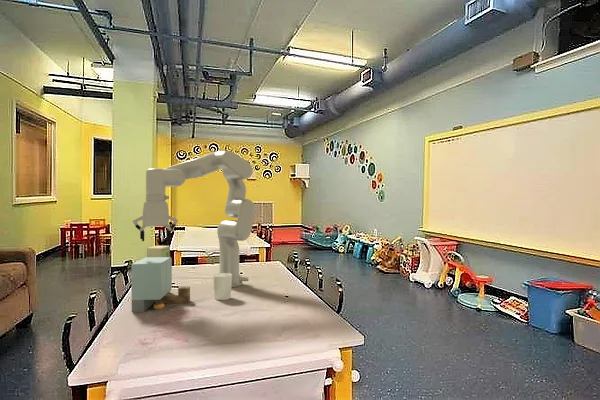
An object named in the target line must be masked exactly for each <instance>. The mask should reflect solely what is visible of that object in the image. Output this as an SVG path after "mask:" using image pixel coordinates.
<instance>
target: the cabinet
mask: <svg viewBox="0 0 600 400" xmlns="http://www.w3.org/2000/svg"><path fill="white" fill-rule="evenodd" d="M172 261H173V259H172V257H171V256H170V257H147V256H146V257H143V258H142V259H140V260H136V261H135V262H133V263H131V265H130V266H131V277H130V278H131V312H132V313H137V312H138V313H143V312H145V311H147V309H150V307H151V306H152V305H154V304H155V303H156V300H160V299H161V298H162V297H163V296H166V295H167V294H169V293H170V292H169V291H171V290H172V289H173V281H172V280H173V276H172V275H173V273H172V272H173V268H172V266H173V265H172V264H173V263H172Z"/></svg>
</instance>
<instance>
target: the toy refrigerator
mask: <svg viewBox="0 0 600 400" xmlns="http://www.w3.org/2000/svg"><path fill="white" fill-rule="evenodd" d="M170 250H171V246H170V245H154V246H149V247H146V257H171V253H170ZM170 291H171V290H170ZM170 291H169V292H168V293H170Z"/></svg>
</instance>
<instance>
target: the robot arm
mask: <svg viewBox="0 0 600 400" xmlns="http://www.w3.org/2000/svg"><path fill="white" fill-rule="evenodd" d="M219 170H221V171H222V174H223V177H224V179H225V180H226V182H227V184H228V193H227V194H228V195H227V198H226V203H225V206H224V207H225V208H224V214H225V216H227V217H228V218H232V219H226V220H222V221H221V222H220V223H219V224H218V225H217V229H216V230H217V231H216V232H217V238H218V243H219V273H230V274H232V286H231V288H234V287H235V288H236V287H240V286H242V285H243V282H249V276H248V277H247V276H241V274H240V246H239V243H238V241H239V242H240V241H241V242H244V241H246V240H248V238H250V235H251V233H252V229H253V226H254V225H253V224H254V220H255V215H256V207H255V203H254V202H253V201H252V200H251V199H249V198H246V194H247V188H246V187H247V186H246V185H245V182H244V180H248V179H250V178H251V177H252V175H253V173H254V169H253V166H252V164H251V163H250V162H249V161H248V160H246V159H244V158H243V157H241V156H240V155H238V154H236V153H235V152H233V151H230V150H218V151H213V152H210V153H207V154H205V155H202V156H199V157H195V158H193V159H189V160H187V161H183V162H180V163H177V164H173V165H170V166H168V167H165V168H155V167H154V168H153V167H151V168H148V169H146V171H145V201H144V203H143V206H142V216H140V217H138V218H135V219H133V220H132V223H133V225H134V226H135V228H136V229H137V230H139V232H140V233H139V234H140V235H139V237H140V240H141V242H144V241H145V231H144V229H145V228H146V227H148V228H149V227H165V228H166V229H167V233H166V235H167V236H166V238H167V239H166V240H167V241H170V239H172V230H173V229H174V228H175V227H176V226H177V223H178V222H179V219H176V218H175V217H173V216H171V215H169V204H168V201H167V200H170V195H166V188H174V187H175V188H176V187H180V186H182V185H183V184H184V183H185V182H186V180H190V179H197V178H201V177H204V176H207V175H209V174H211V173H214V172H217V171H219ZM233 218H234V219H237V220H234V219H233ZM140 221H142V226H141V225H139V222H140ZM170 221H173V223H172V224H171V225H169V224H170V223H169V222H170Z"/></svg>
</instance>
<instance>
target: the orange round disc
mask: <svg viewBox="0 0 600 400" xmlns="http://www.w3.org/2000/svg"><path fill="white" fill-rule="evenodd" d="M153 309H154V310H161V309H165V303H156V302H155V303H153Z"/></svg>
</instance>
